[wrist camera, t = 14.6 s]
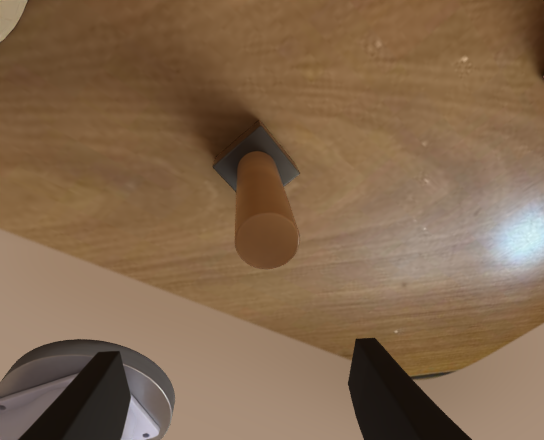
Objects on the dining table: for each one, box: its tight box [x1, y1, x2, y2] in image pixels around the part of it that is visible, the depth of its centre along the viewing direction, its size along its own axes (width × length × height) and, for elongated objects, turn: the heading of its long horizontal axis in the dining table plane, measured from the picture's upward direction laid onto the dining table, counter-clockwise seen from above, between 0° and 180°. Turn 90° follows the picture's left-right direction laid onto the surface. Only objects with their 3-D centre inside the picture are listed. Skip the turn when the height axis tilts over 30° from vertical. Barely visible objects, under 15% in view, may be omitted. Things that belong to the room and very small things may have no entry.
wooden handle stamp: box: [213, 120, 300, 269], centre depth 14 cm, size 3×3×9 cm
